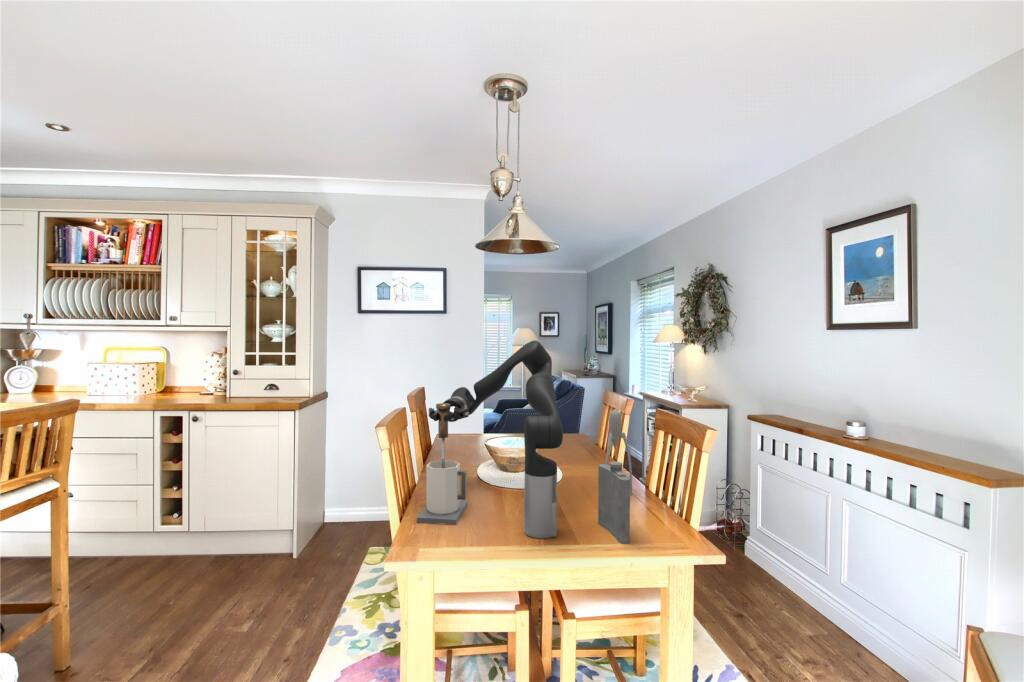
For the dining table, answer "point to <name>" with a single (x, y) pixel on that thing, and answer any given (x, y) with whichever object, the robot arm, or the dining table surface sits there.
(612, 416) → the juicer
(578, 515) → the dining table surface
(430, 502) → the coffee press
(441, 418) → the plunger
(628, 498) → the hip flask
